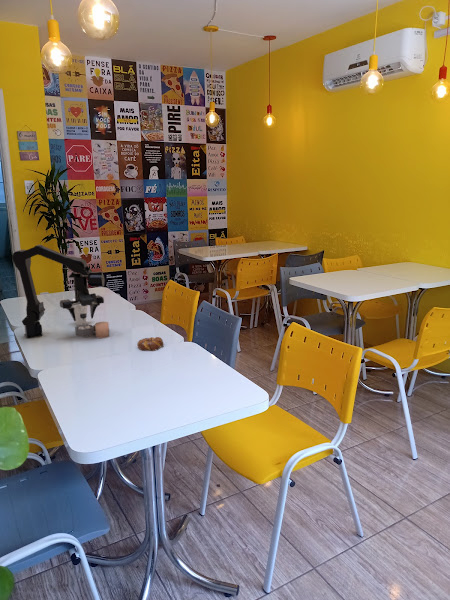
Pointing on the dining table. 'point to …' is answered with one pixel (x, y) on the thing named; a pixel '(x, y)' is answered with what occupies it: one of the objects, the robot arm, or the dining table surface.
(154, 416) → the dining table surface
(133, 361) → the dining table surface
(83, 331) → the gray octagonal container
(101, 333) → the peach rounded capsule
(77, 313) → the soft serve ice cream cone
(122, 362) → the dining table surface
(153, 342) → the pretzel
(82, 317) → the plunger
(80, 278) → the robot arm
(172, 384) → the dining table surface
